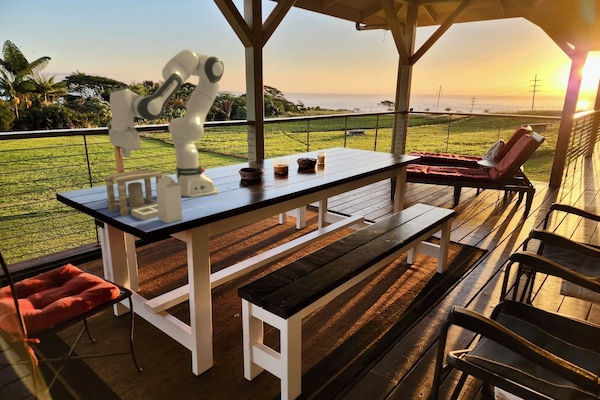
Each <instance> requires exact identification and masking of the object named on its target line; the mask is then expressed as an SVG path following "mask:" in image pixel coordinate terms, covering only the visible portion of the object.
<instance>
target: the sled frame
mask: <svg viewBox="0 0 600 400" xmlns="http://www.w3.org/2000/svg"><path fill="white" fill-rule="evenodd" d="M113 147H114V154H115V155H114V156H115V165H116V166H115V167H116V174H117V173H123V172H125V166H124V165H125V164H124V157H123V153H122V151H121V147H118V146H114V145H113ZM124 185H125V194H126V203H127V204H130V203H129V195H128V194H127V186H126V185H127V184H126V182H124ZM106 202H107V206H108V207H109V202H108V199H107V200H106ZM144 203H145V205H143V206H139V207H134V208H131V207H130V206H129V207H128V206H127V213H128V214H129V215H131V216H132V213H131V210H134V209H138V208H142V207H146V206H151V205H155V204H157V200H155V199H152V200H151V199H148V198H146V196H144ZM115 205H116V210H117V211H120V202H119V197H118V198H115Z"/></svg>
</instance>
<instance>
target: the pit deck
mask: <svg viewBox="0 0 600 400" xmlns="http://www.w3.org/2000/svg"><path fill="white" fill-rule="evenodd" d="M131 213H132V214H131V216H132V217H135V218H137V219H139V220H143V221H148V220H151V219H155V218H159V217H158V205H157V204H155V205H151V206H146V207H142V208H138V209H134V210H131Z"/></svg>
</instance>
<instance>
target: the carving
mask: <svg viewBox="0 0 600 400" xmlns="http://www.w3.org/2000/svg"><path fill="white" fill-rule="evenodd" d="M127 193H128V194H127V195H128V196H129V203H128V204H129V208H134V207H139V206H143V205H146V203H144V197H145V196H144V192H143V185H142V182H138V181H135V182H129V183H128V184H127Z"/></svg>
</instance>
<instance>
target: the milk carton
mask: <svg viewBox="0 0 600 400" xmlns="http://www.w3.org/2000/svg"><path fill="white" fill-rule="evenodd" d="M155 190H156V201H157V205H158V217H157V218H158V220H159V221H161V222H164V223H166V224H171V223H173V222H178V221H182V220H183V207H182V196H181V188H180V185H179V184H178V183H177V180H176V178H174V177H172V176H169V175H166V174H163V175H162V179H161V180H160V181H159V182H158V183H157V185H156V184H155Z"/></svg>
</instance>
